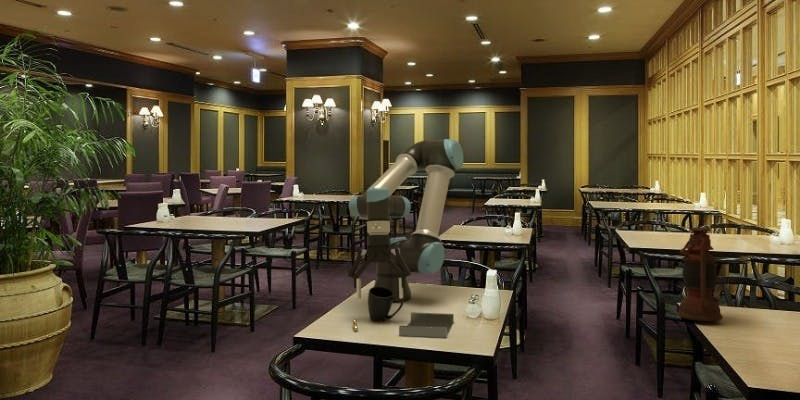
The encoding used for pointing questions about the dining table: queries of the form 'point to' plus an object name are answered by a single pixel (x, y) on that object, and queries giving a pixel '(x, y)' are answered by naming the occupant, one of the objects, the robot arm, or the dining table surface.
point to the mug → (381, 303)
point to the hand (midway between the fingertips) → (379, 299)
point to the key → (355, 325)
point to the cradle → (428, 325)
